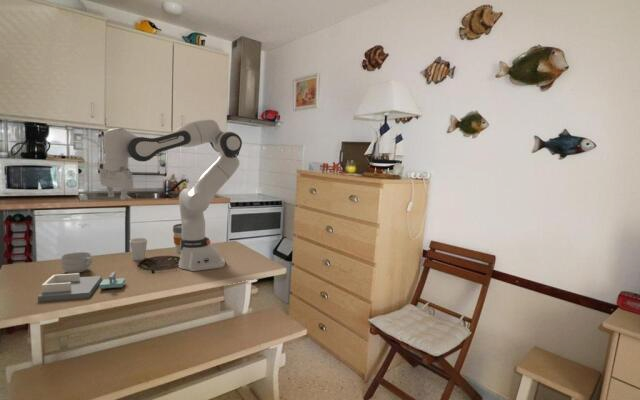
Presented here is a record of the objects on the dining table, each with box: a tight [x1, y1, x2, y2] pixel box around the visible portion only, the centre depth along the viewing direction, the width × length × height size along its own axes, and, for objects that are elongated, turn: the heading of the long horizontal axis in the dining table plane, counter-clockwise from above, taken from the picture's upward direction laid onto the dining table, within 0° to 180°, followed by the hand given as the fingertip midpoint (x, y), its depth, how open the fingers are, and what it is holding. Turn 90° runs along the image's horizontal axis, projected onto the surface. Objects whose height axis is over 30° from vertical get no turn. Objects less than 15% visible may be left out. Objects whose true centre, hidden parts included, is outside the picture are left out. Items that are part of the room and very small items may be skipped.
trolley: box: [98, 271, 126, 291], centre depth 139 cm, size 8×6×6 cm
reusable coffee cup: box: [172, 223, 182, 255], centre depth 191 cm, size 13×13×15 cm
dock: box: [37, 272, 103, 303], centre depth 134 cm, size 16×18×5 cm
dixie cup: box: [129, 237, 148, 261], centre depth 175 cm, size 8×8×10 cm
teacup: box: [61, 251, 93, 274], centre depth 153 cm, size 14×11×8 cm
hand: (117, 198), depth 146 cm, fingers open, 8 cm apart
